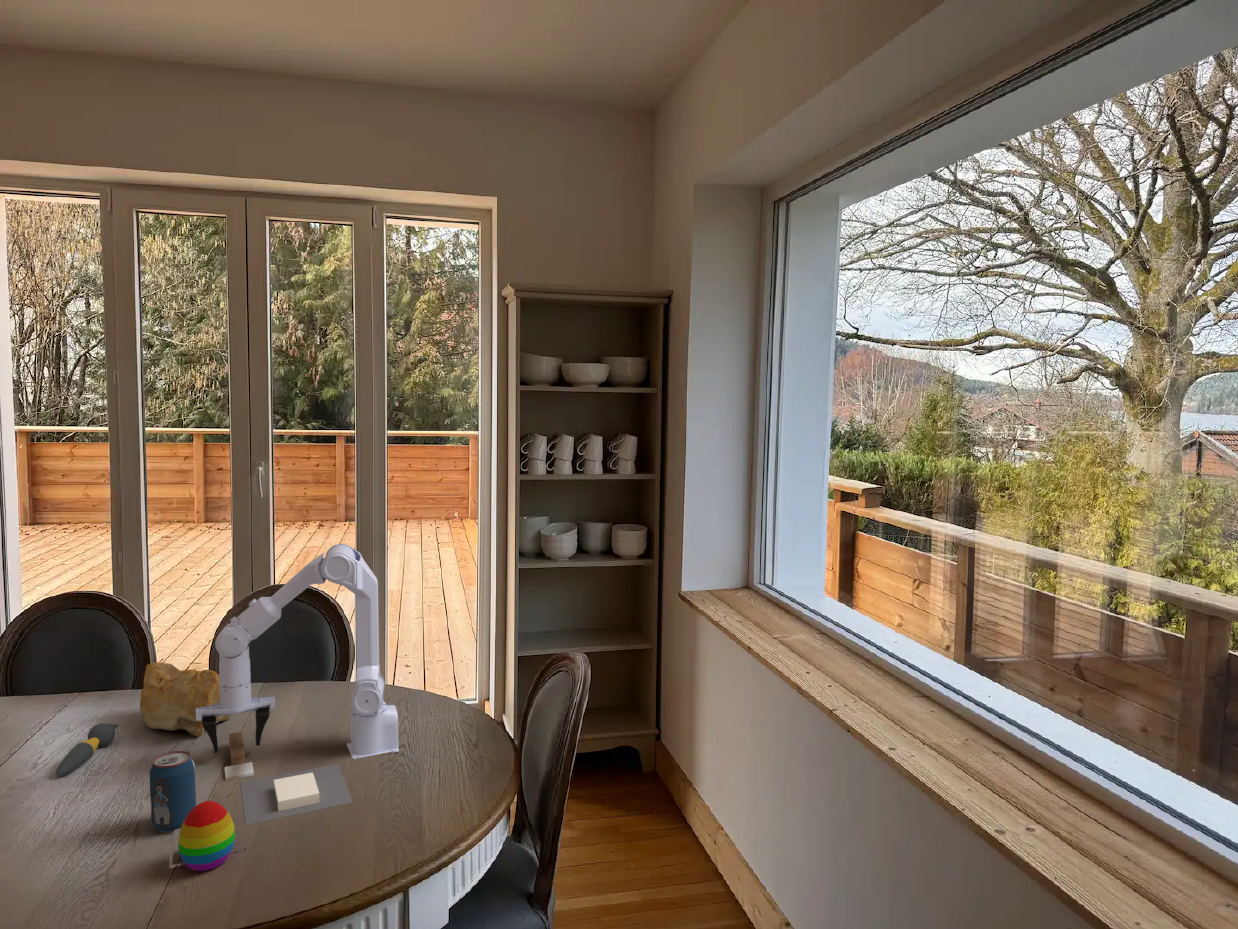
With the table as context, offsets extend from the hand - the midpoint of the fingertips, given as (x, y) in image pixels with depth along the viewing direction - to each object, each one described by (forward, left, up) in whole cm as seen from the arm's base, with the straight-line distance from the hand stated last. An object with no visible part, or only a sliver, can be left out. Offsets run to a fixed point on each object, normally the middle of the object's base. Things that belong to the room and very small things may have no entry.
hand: (237, 747), depth 166 cm
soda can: (+11, +21, -3) cm, 24 cm away
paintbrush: (+27, -15, -3) cm, 31 cm away
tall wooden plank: (0, 0, -3) cm, 3 cm away
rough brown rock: (+7, -24, -3) cm, 25 cm away
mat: (-9, +20, -3) cm, 22 cm away
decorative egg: (+6, +36, -3) cm, 37 cm away
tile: (-9, +16, -2) cm, 19 cm away
